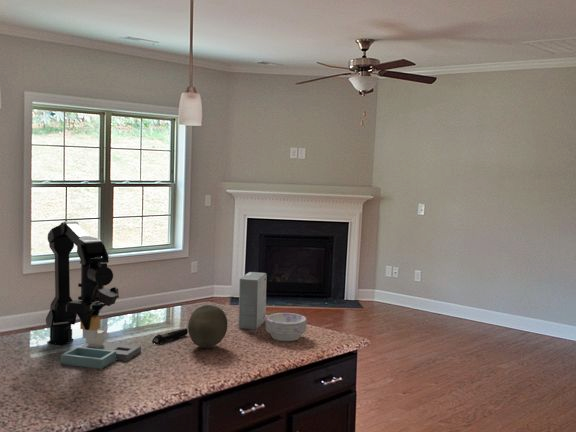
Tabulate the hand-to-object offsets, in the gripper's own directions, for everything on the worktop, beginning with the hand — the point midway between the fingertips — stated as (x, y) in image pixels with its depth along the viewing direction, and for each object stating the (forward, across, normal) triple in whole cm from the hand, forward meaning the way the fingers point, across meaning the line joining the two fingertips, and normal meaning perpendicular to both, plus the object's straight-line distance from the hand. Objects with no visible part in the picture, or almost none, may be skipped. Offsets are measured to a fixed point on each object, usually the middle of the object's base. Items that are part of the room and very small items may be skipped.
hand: (89, 328), depth 197 cm
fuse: (+11, +10, +4) cm, 15 cm away
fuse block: (+11, +10, -2) cm, 15 cm away
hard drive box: (+11, +62, -36) cm, 73 cm away
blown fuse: (+3, 0, 0) cm, 3 cm away
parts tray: (+11, 0, 0) cm, 11 cm away
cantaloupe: (+11, +26, -30) cm, 41 cm away
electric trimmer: (+11, +32, -14) cm, 36 cm away
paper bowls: (+11, +48, -53) cm, 73 cm away
